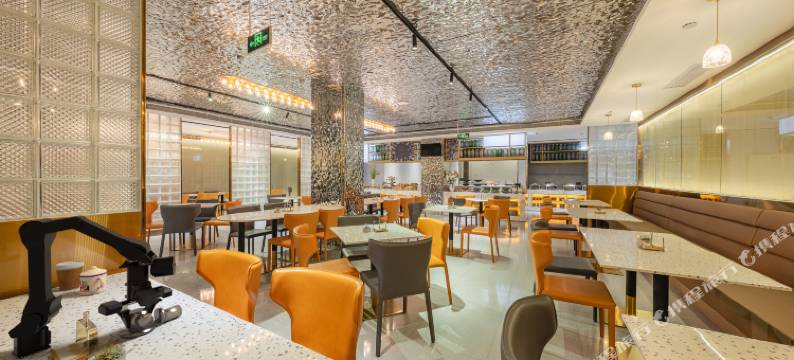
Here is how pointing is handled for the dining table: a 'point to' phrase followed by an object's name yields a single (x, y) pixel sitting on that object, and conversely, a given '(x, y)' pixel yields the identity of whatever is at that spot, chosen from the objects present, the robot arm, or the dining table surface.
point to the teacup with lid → (93, 281)
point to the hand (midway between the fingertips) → (137, 324)
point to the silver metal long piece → (155, 321)
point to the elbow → (139, 319)
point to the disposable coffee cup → (69, 274)
